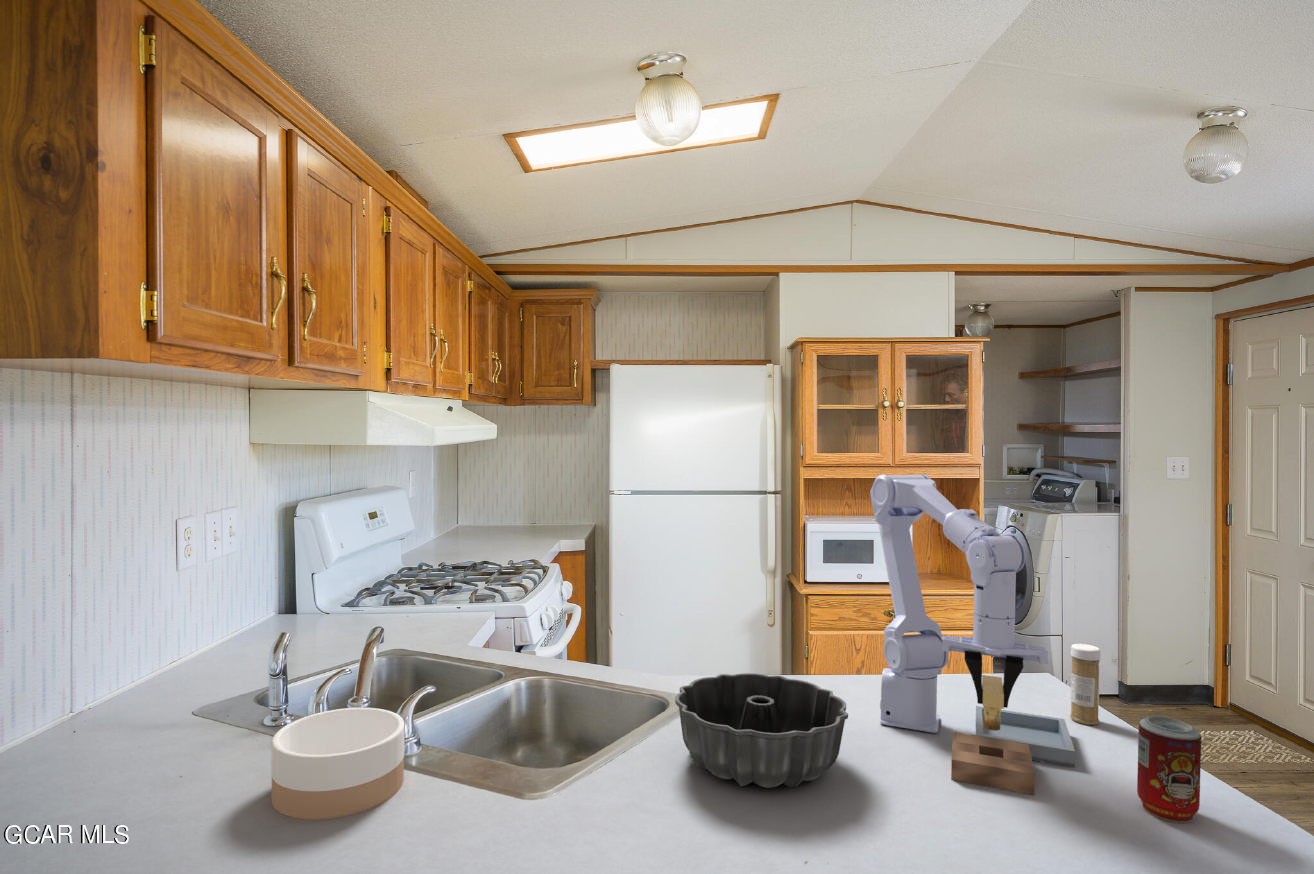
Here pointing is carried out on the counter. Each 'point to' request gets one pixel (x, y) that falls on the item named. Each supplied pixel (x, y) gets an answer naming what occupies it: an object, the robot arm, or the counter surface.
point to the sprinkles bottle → (1085, 684)
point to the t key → (992, 701)
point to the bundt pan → (761, 728)
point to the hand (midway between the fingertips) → (992, 703)
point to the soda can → (1169, 768)
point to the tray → (1033, 735)
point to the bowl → (337, 763)
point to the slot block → (992, 763)
